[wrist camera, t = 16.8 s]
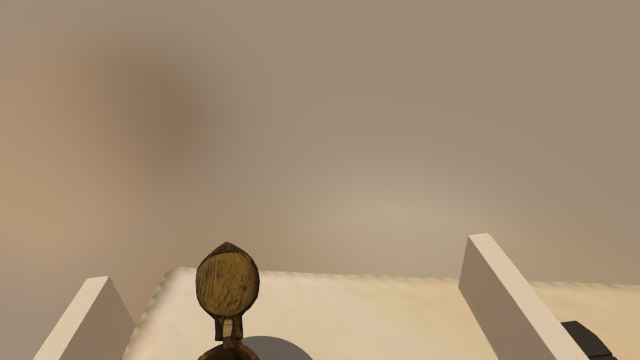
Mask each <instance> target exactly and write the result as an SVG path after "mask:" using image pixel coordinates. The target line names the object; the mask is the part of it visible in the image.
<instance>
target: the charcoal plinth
mask: <svg viewBox="0 0 640 360" xmlns="http://www.w3.org/2000/svg"><path fill="white" fill-rule="evenodd" d="M242 343H243V345H245V346H248V347H249V348H250V349H251V350H252V351H254V352H255V353H256V354H257V356H259V357H260V358H261V359H262V360H312V358H311V357H310V356H309V355H308V354H307V353H306V352H305V351H303V350H302V349H301V348H299V347H298V346H296V345H295V344H293V343H291V342H288V341H286V340H283V339H280V338H275V337H269V336H253V337H247V338H243V339H242Z"/></svg>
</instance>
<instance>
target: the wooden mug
mask: <svg viewBox="0 0 640 360" xmlns="http://www.w3.org/2000/svg"><path fill="white" fill-rule="evenodd" d="M259 284H260V279H259V272H258V268H257V266H256V264H255V262H254V260H253V259H252V258H251V257H250V256H249V255H248V254H247V253H246V252H245V251H243V250H242V249H240V248H238V247H237V246H235V245H233V244H231V243H229V242H225V243H223V244H222V245H221V246H219V247H217V248H216V249H215V250H214V251H212V253H210V254H209V255H208V256H207V257H206V258H205V259H204V260H203V261H202V262H201V264H200V266H199V267H198V269H197V274H196V294H197V299H198V302H199V304H200V306H201V307H202V308H203V309H204V310H205V311H206V312H207V313H208V314H209V315H210V316H211V317H212V318H213V319H215V330H216V331H215V341H223V344H221V345H218V346H216V347H214V348H212V349H210V350H209V351H207V352H205V353H204V354H203V355H202V356H200V357H199V358H198V360H262V359H261V358H260V357H259V356H257V354H256V353H255V352H254V351H252V350H251V349H250V348H249V347H248V346H245V345H243V343H242V339H243V327H242V315H243V314H244V313H245V312H246V311H247V310H248V309H250V308H251V306H252V305H253V303H254V302H255V300H256V299H257V298H258V292H259Z"/></svg>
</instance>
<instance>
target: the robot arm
mask: <svg viewBox="0 0 640 360" xmlns="http://www.w3.org/2000/svg"><path fill="white" fill-rule="evenodd" d="M458 288H459V289H460V291H461V293H462V295H463V297H464V298H465V300H466V302H467V304H468V306H469V307H470V309H471V311H472V313H473V314H474V316H475V318H476V320H477V322H478V323H479V325H480V327H481V329H482V331H483V332H484V334H485V336H486V338H487V339H488V341H489V343H490V345H491V347H492V348H493V350H494V352H495V354H496V356H497V357H498V359H499V360H617V358H616V357H613V356H612V353H611V352H610V350H609V349H608V348H607V347H606V346H605V345H604V344H603V342H602V341H601V340H600V339H599V338H598V337H597V336H596V335H595V334H594V333H592V332H591V331H590V330H588V329H587V328H586V327H584V326H583V325H581V324H580V323H579V322H577V321H570V322H562V323H560V322H559V321H558V320H557V318H556V317H555V316H554V315H553V313H552V312H551V311H550V310H549V308H548V307H547V306H546V305H545V303H544V302H543V301H542V300H541V298H540V297H539V296H538V295H537V293H536V292H535V291H534V290H533V288H532V287H531V286H530V285H529V283H528V282H527V281H526V280H525V279H524V277H523V276H522V275H521V273H520V272H519V271H518V270H517V268H516V267H515V266H514V265H513V264H512V262H511V261H510V260H509V258H508V257H507V256H506V255H505V254H504V252H503V251H502V250H501V248H500V247H499V246H498V245H497V243H496V242H495V241H494V240H493V238H492V237H491V236H490V235H489V234H488V233H486V234H477V235H469V236H468V240H467V245H466V250H465V256H464V261H463V266H462V271H461V276H460V281H459V287H458ZM135 327H136V325H135V323H134V321H133V319H132V318H131V316H130V314H129V312H128V310H127V308H126V306H125V305H124V302H123V301H122V299H121V297H120V295H119V293H118V291H117V290H116V288H115V286H114V284H113V282H112V280H111V278H110V277H109V276H106V277H97V278H88V279H87V280H86V282H85V283H84V285H83V286H82V287H81V289H80V290H79V292H78V293H77V295H76V296H75V298H74V299H73V301H72V302H71V304H70V305H69V307H68V308H67V310H66V311H65V313H64V314H63V316H62V317H61V319H60V320H59V322H58V323H57V325H56V326H55V328H54V329H53V331H52V332H51V334H50V335H49V336H48V338H47V339H46V341H45V342H44V344H43V346H42V347H41V348H40V350H39V351H38V353H37V354H36V356H35V357H34V359H33V360H121V358H122V356H123V354H124V352H125V349H126V347H127V345H128V343H129V340H130V338H131V336H132V334H133V331H134V329H135Z"/></svg>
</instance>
